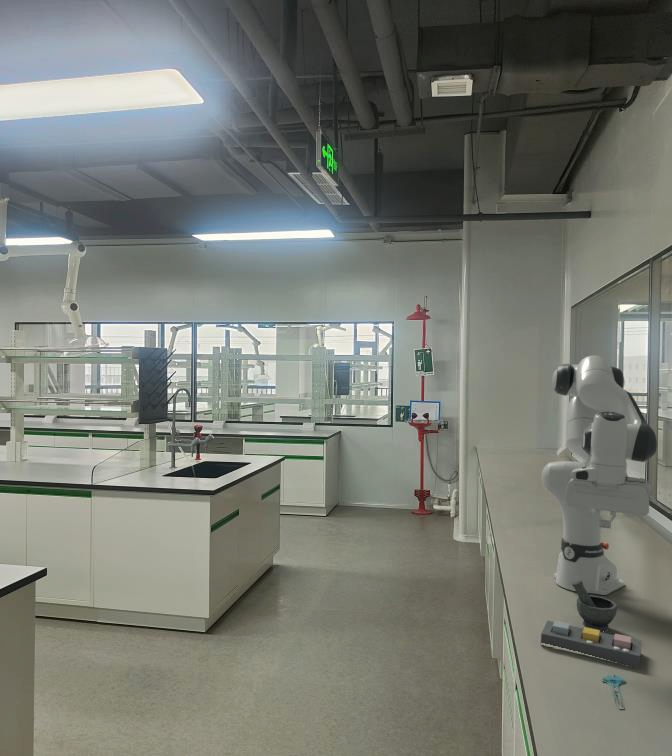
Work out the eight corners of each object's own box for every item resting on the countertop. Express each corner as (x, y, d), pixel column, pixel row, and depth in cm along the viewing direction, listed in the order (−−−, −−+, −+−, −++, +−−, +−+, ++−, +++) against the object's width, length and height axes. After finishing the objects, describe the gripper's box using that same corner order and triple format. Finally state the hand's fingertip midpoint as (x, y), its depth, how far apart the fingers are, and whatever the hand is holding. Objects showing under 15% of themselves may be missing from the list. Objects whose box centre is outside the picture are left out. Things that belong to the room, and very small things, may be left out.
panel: (540, 645, 156) (541, 632, 155) (546, 631, 164) (547, 619, 163) (639, 668, 145) (640, 655, 145) (640, 653, 153) (641, 640, 153)
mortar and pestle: (614, 624, 170) (616, 580, 170) (616, 638, 161) (618, 592, 161) (570, 616, 174) (572, 573, 174) (569, 630, 165) (571, 584, 165)
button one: (582, 641, 154) (582, 632, 153) (583, 635, 157) (584, 626, 157) (598, 644, 152) (598, 635, 152) (599, 639, 155) (599, 630, 155)
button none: (552, 634, 157) (552, 625, 157) (554, 629, 160) (554, 620, 160) (567, 637, 155) (567, 628, 155) (569, 632, 158) (569, 623, 158)
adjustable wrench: (600, 672, 142) (624, 676, 140) (600, 676, 142) (624, 680, 140) (608, 704, 128) (634, 709, 127) (607, 709, 128) (634, 714, 127)
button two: (613, 648, 150) (613, 639, 150) (614, 642, 153) (614, 633, 153) (629, 651, 149) (630, 642, 149) (630, 646, 152) (631, 637, 152)
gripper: (652, 477, 162) (649, 531, 162) (568, 468, 171) (566, 519, 172) (651, 481, 156) (649, 536, 157) (565, 471, 166) (562, 523, 166)
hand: (604, 527), depth 164 cm, fingers closed
